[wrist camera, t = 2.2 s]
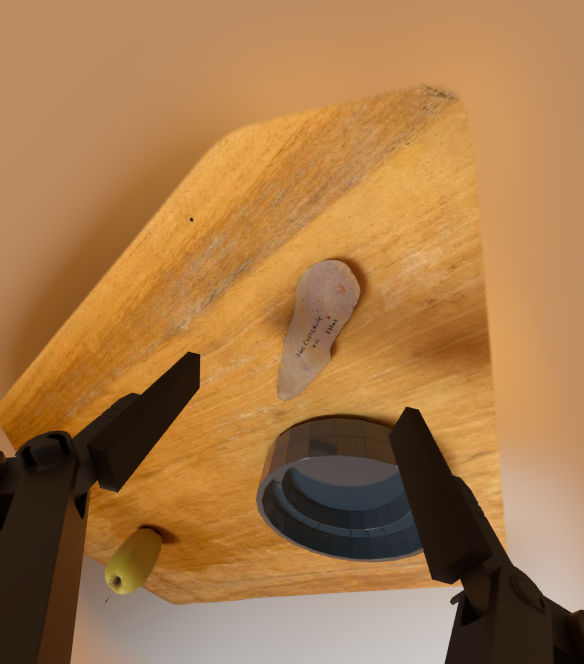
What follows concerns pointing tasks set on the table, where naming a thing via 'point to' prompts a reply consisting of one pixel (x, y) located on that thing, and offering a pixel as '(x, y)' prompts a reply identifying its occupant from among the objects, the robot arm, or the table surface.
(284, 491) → the bowl
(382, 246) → the table surface
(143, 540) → the apple
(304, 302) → the stone tool
